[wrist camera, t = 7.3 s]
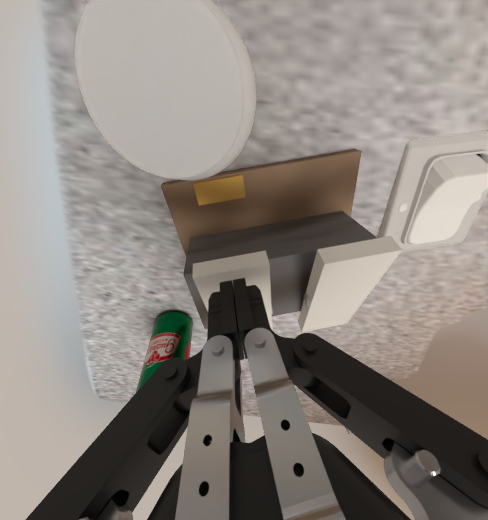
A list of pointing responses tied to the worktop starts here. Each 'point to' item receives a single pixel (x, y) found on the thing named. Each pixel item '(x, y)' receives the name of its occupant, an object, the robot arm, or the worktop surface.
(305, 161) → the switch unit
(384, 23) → the worktop surface
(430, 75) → the worktop surface
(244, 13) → the worktop surface
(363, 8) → the worktop surface
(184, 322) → the soda can
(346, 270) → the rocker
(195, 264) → the block
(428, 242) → the light switch
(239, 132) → the supplement bottle
